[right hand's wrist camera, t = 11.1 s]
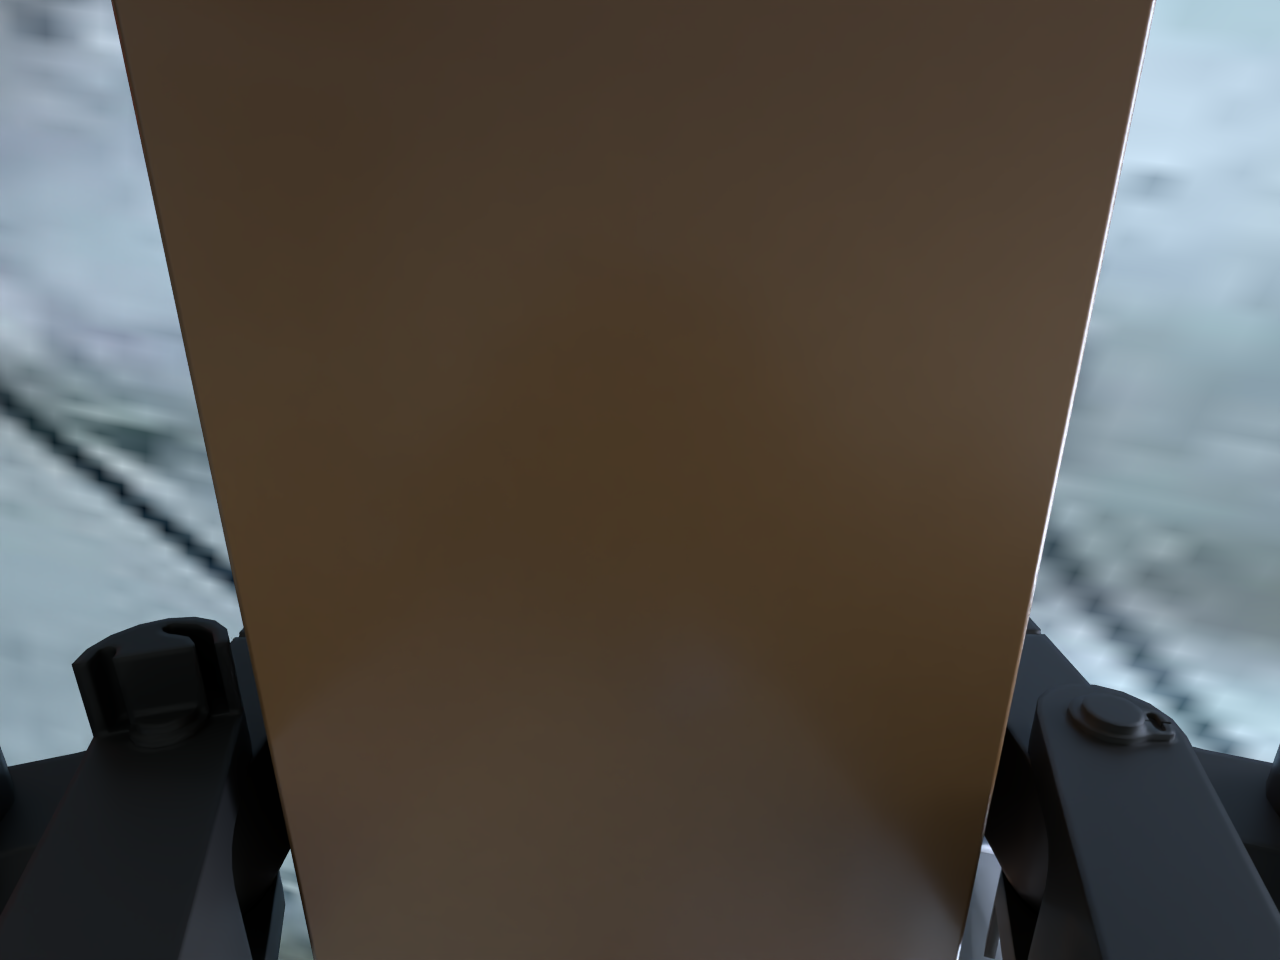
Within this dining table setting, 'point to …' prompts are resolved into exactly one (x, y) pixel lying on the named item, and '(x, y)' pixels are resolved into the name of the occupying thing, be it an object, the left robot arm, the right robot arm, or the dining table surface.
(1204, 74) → the dining table surface
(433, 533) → the bar
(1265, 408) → the dining table surface
